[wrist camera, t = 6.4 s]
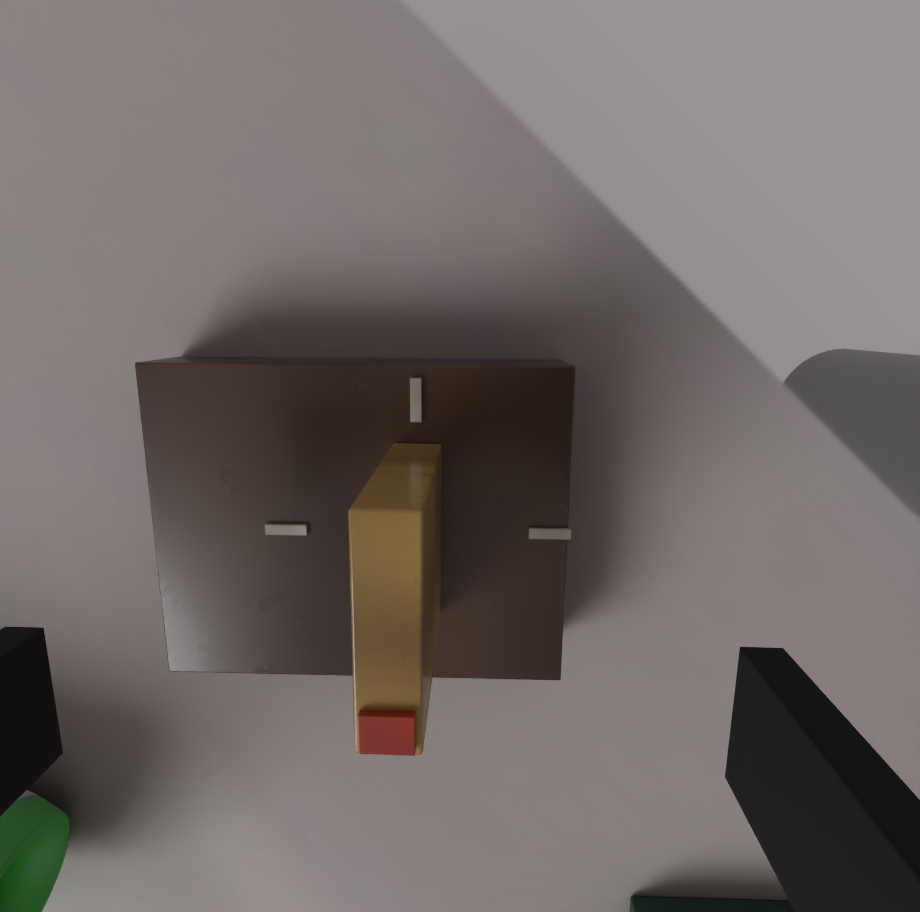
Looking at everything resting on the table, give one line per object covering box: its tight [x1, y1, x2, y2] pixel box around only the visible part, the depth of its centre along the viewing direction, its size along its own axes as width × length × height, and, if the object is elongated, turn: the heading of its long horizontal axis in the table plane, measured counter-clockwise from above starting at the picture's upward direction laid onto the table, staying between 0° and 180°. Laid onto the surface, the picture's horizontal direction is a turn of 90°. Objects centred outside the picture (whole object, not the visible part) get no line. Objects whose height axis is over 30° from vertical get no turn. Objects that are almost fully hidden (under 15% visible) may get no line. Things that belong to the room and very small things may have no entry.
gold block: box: [348, 443, 442, 756], centre depth 17 cm, size 6×2×7 cm, turn 179°
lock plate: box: [135, 357, 575, 680], centre depth 22 cm, size 14×11×3 cm
